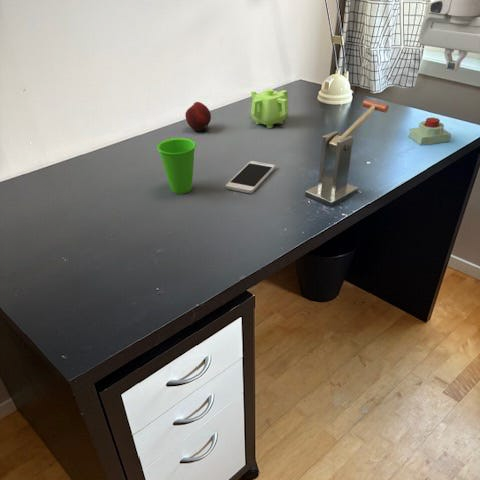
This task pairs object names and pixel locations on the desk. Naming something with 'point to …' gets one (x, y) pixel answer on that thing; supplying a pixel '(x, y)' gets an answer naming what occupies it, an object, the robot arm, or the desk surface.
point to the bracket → (333, 172)
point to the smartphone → (250, 177)
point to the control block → (429, 134)
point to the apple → (198, 116)
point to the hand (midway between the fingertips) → (452, 69)
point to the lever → (358, 121)
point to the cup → (178, 163)
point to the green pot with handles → (269, 107)
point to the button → (432, 122)
